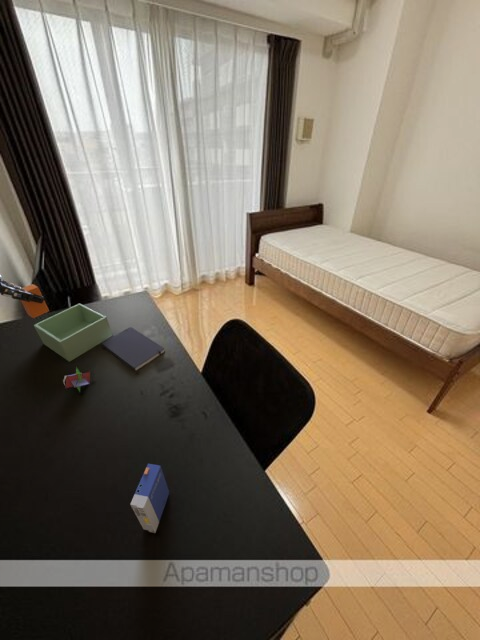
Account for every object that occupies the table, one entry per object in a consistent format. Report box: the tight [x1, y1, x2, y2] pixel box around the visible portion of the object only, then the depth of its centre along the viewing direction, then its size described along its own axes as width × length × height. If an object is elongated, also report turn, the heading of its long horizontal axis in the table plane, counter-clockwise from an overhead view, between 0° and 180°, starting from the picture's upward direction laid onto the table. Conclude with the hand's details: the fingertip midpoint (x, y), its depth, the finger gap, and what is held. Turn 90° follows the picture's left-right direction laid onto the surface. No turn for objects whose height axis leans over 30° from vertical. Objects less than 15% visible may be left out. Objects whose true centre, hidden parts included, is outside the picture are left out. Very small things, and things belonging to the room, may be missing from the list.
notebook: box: [100, 326, 166, 372], centre depth 103 cm, size 13×2×21 cm
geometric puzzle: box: [62, 366, 91, 393], centre depth 87 cm, size 7×7×8 cm
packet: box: [19, 283, 50, 319], centre depth 90 cm, size 4×5×9 cm
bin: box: [33, 303, 114, 362], centre depth 106 cm, size 18×18×9 cm
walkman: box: [130, 463, 170, 534], centre depth 57 cm, size 8×3×12 cm, turn 170°
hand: (39, 298), depth 91 cm, fingers closed on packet, 3 cm apart
